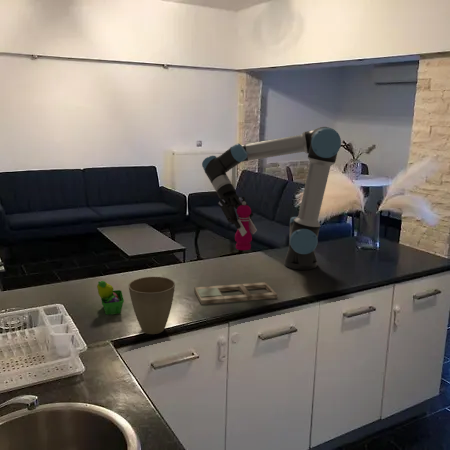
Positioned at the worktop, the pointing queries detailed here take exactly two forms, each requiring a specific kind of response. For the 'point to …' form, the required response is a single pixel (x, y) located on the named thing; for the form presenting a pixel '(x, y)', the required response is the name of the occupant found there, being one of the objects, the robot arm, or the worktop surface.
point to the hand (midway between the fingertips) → (249, 233)
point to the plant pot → (152, 302)
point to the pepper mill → (243, 215)
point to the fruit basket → (110, 298)
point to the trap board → (215, 296)
